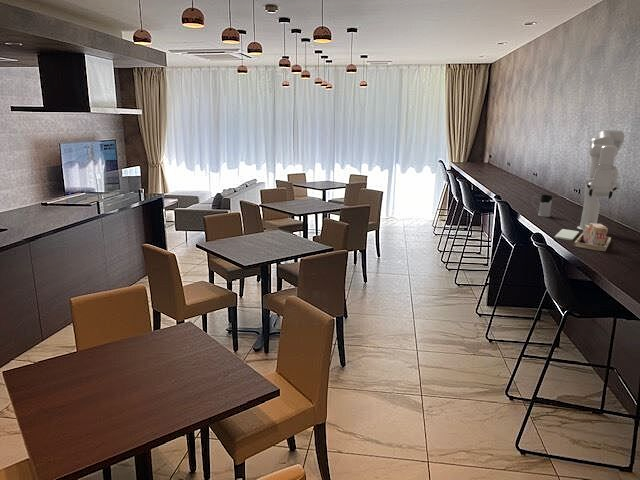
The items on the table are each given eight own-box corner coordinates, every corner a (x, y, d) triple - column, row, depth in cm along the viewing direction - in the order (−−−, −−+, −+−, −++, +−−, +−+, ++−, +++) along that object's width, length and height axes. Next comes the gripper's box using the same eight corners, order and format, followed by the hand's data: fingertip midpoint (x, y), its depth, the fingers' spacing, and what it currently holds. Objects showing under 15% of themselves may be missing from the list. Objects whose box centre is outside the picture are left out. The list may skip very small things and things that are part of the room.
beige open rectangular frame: (581, 237, 312) (582, 233, 311) (610, 241, 303) (611, 237, 302) (573, 246, 289) (574, 242, 288) (604, 251, 280) (605, 247, 279)
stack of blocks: (581, 239, 307) (584, 219, 304) (592, 240, 306) (595, 220, 303) (592, 248, 287) (596, 227, 283) (604, 249, 285) (608, 228, 282)
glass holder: (549, 217, 369) (552, 197, 365) (528, 214, 377) (531, 194, 373) (551, 215, 376) (554, 195, 373) (531, 212, 384) (534, 193, 380)
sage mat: (562, 230, 328) (562, 228, 328) (578, 232, 323) (579, 231, 322) (554, 237, 307) (554, 236, 307) (572, 240, 302) (572, 239, 302)
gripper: (623, 168, 284) (617, 198, 288) (589, 166, 294) (584, 195, 298) (621, 169, 278) (616, 199, 282) (587, 166, 288) (582, 196, 292)
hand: (599, 197), depth 290 cm, fingers open, 9 cm apart
